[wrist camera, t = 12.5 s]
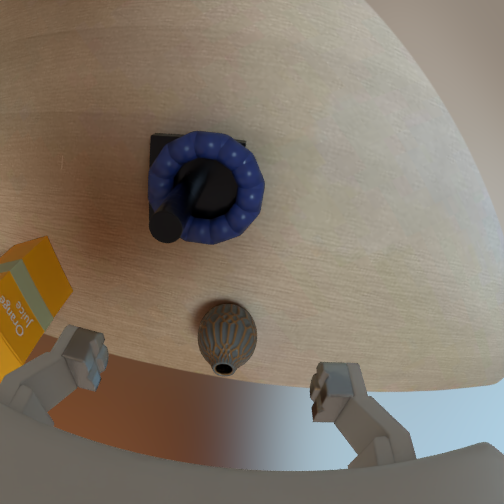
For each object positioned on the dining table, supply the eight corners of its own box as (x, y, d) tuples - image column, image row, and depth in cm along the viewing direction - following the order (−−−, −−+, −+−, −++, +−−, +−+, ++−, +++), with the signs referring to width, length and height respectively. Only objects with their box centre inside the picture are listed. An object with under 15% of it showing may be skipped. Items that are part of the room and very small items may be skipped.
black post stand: (155, 133, 28) (103, 159, 18) (246, 140, 29) (239, 169, 19) (153, 215, 33) (111, 274, 23) (235, 225, 33) (225, 290, 23)
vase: (201, 292, 37) (189, 344, 30) (259, 296, 37) (259, 350, 30) (203, 333, 41) (193, 385, 33) (255, 337, 41) (254, 390, 33)
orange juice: (47, 235, 34) (-50, 337, 16) (74, 291, 38) (2, 403, 21) (13, 245, 35) (-74, 334, 17) (38, 295, 39) (-30, 392, 22)
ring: (155, 125, 27) (147, 129, 24) (271, 138, 27) (273, 142, 25) (151, 229, 32) (144, 239, 30) (254, 243, 32) (253, 255, 30)
